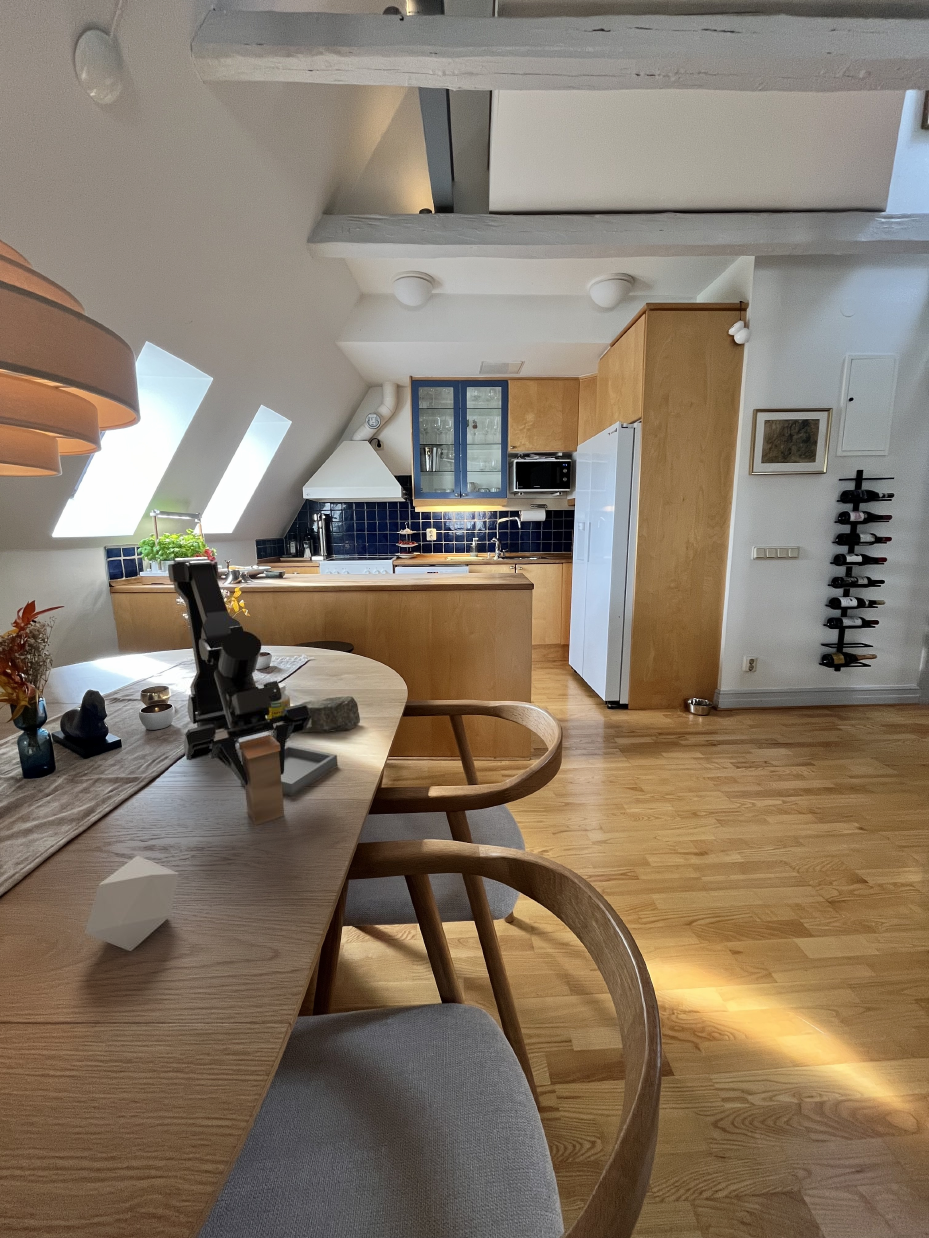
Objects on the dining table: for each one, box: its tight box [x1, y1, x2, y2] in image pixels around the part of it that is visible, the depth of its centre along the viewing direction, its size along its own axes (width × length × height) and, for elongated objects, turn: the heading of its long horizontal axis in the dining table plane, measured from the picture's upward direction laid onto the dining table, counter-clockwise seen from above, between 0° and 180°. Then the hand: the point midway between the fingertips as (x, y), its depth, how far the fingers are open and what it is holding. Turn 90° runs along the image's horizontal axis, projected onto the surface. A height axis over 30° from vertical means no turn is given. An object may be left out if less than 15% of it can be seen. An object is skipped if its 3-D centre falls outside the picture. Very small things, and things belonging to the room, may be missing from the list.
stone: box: [300, 695, 361, 733], centre depth 116 cm, size 14×7×10 cm, turn 102°
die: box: [84, 855, 180, 952], centre depth 58 cm, size 8×9×10 cm
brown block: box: [238, 734, 285, 826], centre depth 81 cm, size 5×5×12 cm
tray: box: [240, 744, 338, 797], centre depth 95 cm, size 12×12×2 cm
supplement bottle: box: [266, 682, 291, 719], centre depth 118 cm, size 5×5×10 cm
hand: (264, 778), depth 80 cm, fingers open, 5 cm apart
